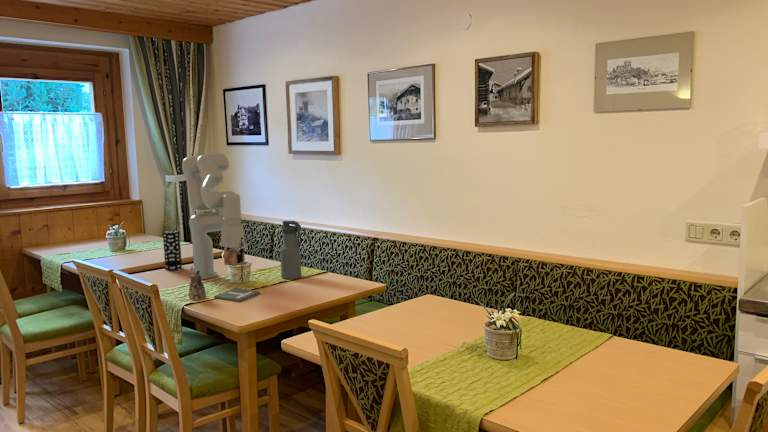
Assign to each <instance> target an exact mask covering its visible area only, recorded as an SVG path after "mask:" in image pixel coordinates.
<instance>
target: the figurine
mask: <svg viewBox="0 0 768 432" xmlns="http://www.w3.org/2000/svg"><path fill="white" fill-rule="evenodd" d="M199 272H200V271H199V270H198V271H197V272H193V271H192V273H191V274H190V276H189V277H190V282H189V288H188V297H189V299H188V300H190V301H201V299H202V300H204V299H206V294H207V293H206V288H205V284H204V282H203V281H202V279H201V276H200V275H199Z"/></svg>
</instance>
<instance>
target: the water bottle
mask: <svg viewBox="0 0 768 432" xmlns="http://www.w3.org/2000/svg"><path fill="white" fill-rule="evenodd" d="M282 225H283V226H282V235H283V237H282V238H283V239H282V241H283V245H282V246H281V247H280V253H279V254H280V275H281V278H282V279H284V280H297V279H299V278H300V277H301V276H302V260H301V258H302V257H301V252H302V251H301V247H300V246H301V244H302V235H301V231H302V226H301V224H300V223H299V222H298V221H295V220H283V221H282Z"/></svg>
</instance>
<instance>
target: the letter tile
mask: <svg viewBox="0 0 768 432" xmlns="http://www.w3.org/2000/svg"><path fill="white" fill-rule="evenodd" d="M260 294H261V291H258V290H253V289H252V290H251V289H246V288H244V289H243V288H237V287H233V288H232V289H231V288H230V290H226V291H224V292H221V293H219V294H216V295H214V296H213V298H214V299H217V300H224V301H231V302H237V303H240V302H243V301H246V300H248V299H250V298H253V297H255V296H257V295H260Z"/></svg>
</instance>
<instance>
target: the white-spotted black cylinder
mask: <svg viewBox="0 0 768 432" xmlns="http://www.w3.org/2000/svg"><path fill="white" fill-rule="evenodd" d="M162 241H163V255H164V256H163V257H164V268H165V269H164V270H165V271H167V272H174V271H180V270H182V269H183V263H182V262H183V261H182V248H181V246H182V245H181V233H180V230H175V229H173V230H171V229H170V230H164V231H162Z"/></svg>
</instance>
